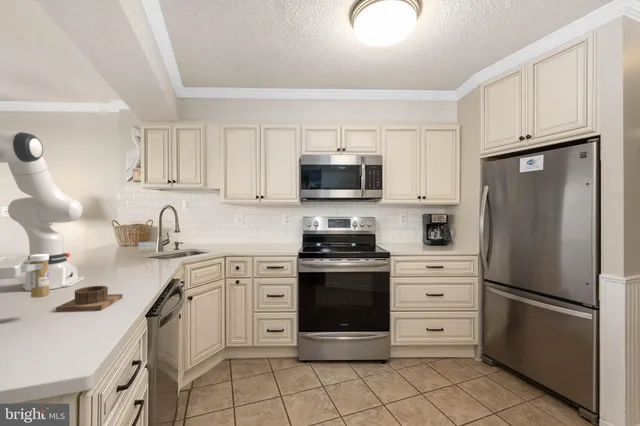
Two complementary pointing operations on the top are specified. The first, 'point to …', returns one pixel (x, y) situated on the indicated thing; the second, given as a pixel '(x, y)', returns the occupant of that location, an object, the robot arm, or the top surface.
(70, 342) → the top surface
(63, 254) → the robot arm
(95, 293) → the walnut collar block
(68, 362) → the top surface
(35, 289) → the sprinkles bottle
